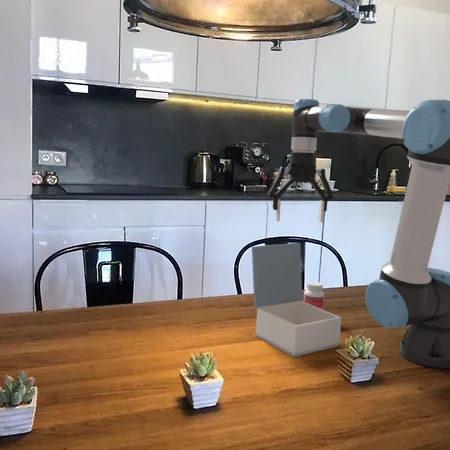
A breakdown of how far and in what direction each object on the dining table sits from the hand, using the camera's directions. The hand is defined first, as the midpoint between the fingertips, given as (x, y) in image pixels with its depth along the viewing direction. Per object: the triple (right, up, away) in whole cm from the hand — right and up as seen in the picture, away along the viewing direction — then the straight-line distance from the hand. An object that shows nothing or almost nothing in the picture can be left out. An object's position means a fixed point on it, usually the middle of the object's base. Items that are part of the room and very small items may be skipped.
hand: (299, 221), depth 164 cm
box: (-3, -33, -19) cm, 38 cm away
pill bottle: (+4, -30, 0) cm, 30 cm away
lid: (-8, -15, -14) cm, 22 cm away
